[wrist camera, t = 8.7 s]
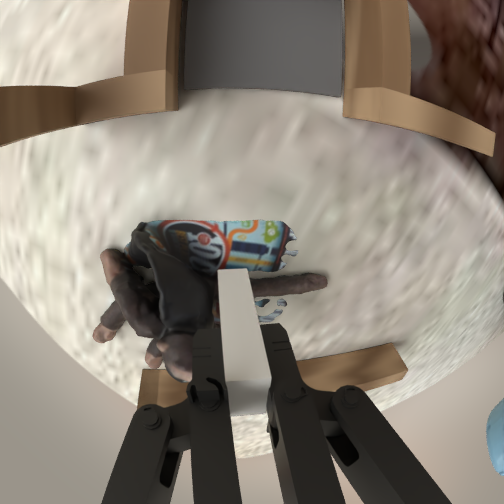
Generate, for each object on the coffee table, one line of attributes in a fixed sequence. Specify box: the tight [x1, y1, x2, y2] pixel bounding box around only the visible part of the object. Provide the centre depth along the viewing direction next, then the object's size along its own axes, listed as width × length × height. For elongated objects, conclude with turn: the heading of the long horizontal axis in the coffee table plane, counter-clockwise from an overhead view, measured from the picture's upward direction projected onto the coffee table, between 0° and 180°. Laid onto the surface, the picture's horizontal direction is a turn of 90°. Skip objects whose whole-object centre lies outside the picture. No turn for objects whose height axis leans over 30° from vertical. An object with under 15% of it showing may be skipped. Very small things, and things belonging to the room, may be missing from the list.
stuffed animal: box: [93, 220, 328, 383], centre depth 16 cm, size 12×10×12 cm
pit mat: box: [184, 0, 342, 97], centre depth 9 cm, size 7×6×1 cm
